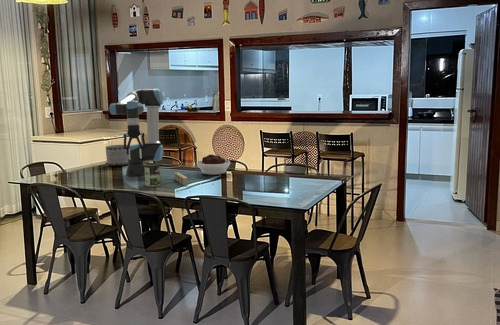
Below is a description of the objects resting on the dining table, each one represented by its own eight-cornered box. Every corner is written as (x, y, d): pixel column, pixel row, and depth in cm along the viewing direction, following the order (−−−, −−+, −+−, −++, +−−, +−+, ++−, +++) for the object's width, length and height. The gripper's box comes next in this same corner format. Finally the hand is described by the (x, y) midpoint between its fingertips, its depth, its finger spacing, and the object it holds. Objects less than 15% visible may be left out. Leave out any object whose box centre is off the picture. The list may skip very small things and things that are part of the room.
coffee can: (162, 183, 334) (161, 163, 332) (157, 186, 324) (156, 166, 322) (148, 183, 336) (147, 163, 334) (142, 186, 326) (141, 165, 324)
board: (174, 179, 348) (174, 172, 347) (178, 179, 349) (178, 172, 348) (183, 185, 328) (183, 178, 327) (187, 184, 329) (187, 177, 328)
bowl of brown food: (225, 170, 382) (225, 151, 380) (234, 175, 359) (234, 155, 356) (194, 172, 374) (193, 153, 372) (201, 178, 351) (201, 157, 348)
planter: (102, 167, 403) (101, 147, 400) (112, 163, 422) (111, 144, 419) (124, 167, 400) (123, 147, 397) (133, 163, 419) (132, 144, 416)
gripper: (119, 125, 311) (121, 160, 315) (149, 124, 319) (151, 158, 323) (117, 124, 318) (119, 159, 322) (146, 123, 326) (148, 156, 330)
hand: (135, 158), depth 323 cm, fingers open, 7 cm apart
